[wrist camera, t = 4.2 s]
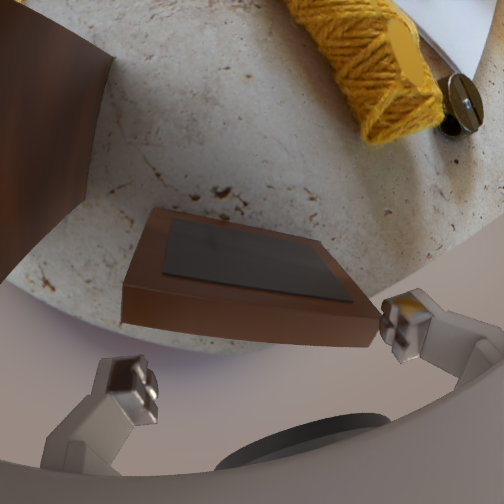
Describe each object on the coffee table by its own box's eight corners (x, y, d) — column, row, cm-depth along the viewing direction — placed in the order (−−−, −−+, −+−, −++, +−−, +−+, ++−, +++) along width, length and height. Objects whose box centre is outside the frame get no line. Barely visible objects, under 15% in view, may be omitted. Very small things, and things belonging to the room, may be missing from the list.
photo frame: (309, 264, 19) (367, 349, 12) (148, 235, 17) (120, 325, 9) (319, 239, 19) (387, 316, 11) (153, 205, 16) (122, 280, 9)
